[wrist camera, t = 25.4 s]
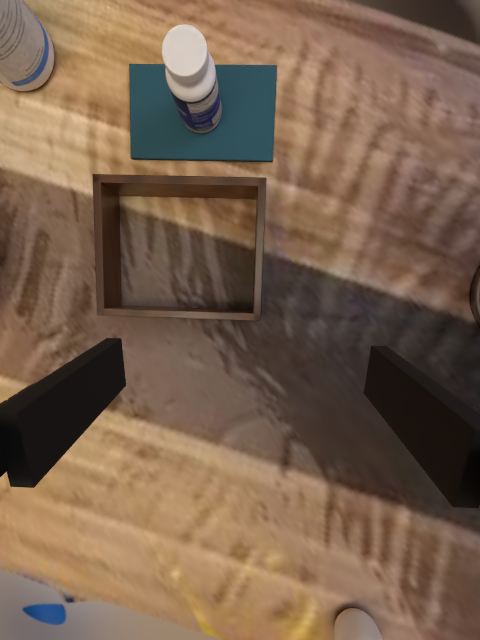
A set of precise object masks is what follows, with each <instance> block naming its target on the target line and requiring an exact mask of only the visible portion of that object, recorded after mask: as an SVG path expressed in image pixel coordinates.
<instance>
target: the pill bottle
mask: <svg viewBox="0 0 480 640" xmlns="http://www.w3.org/2000/svg"><path fill="white" fill-rule="evenodd" d="M162 57H163V61H164V64H165V66H166V69H165V72H166V80H167V83H168V86H169V89H170V91H171V93H172V96H173V98H174V101H175V103H176V106H177V108H178V111H179V113H180V116H181V118H182V120H183V122H184V124H185V125H186V126H187V127H188V128H189V129H190V130H191V131H193V132H196V133H206V132H209V131H211V130H212V129H214V128H215V127H216V125H217V124H218V123H219V121H220V118H221V113H222V106H221V100H220V94H219V88H218V81H217V75H216V69H215V65H214V62H213V59H212V57H211V55H210V54H209V52H208V48H207V44H206V41H205V38H204V36H203V35H202V33H201V32H200V31H199V30H198V29H196V28H195V27H193V26H191V25H186V24H182V25H178V26H175V27H174V28H172V29H171V30H170V31H169V32H168V33H167V35H166V36H165V38H164V41H163V44H162Z"/></svg>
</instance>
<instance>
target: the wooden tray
mask: <svg viewBox="0 0 480 640" xmlns="http://www.w3.org/2000/svg"><path fill="white" fill-rule="evenodd" d="M119 196H155V197H199V198H244V199H257V208H256V235H255V262H254V289H253V310H232V309H203V308H173V307H144V306H121V263H120V217H119ZM265 199H266V178H253V177H204V176H154V175H105V174H93V200H94V231H95V262H96V293H97V315H104V316H133V317H161V318H190V319H219V320H247V321H260V320H261V297H262V272H263V248H264V223H265Z"/></svg>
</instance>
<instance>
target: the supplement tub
mask: <svg viewBox="0 0 480 640" xmlns="http://www.w3.org/2000/svg"><path fill="white" fill-rule="evenodd" d="M53 65H54V49H53V44H52V41H51V39H50V36H49V34H48V32H47V31H46V29H45V28H44V26H43V25H42V24H41V23H40V21H39V20H38V19H37V17H36V16H35V15H34V14H33V12H32V11H31V10H30V9H29V7H28V6H27V5H26V4H25V2H24V1H23V0H0V82H1V83H2V84H3V85H5V86H7V87H8V88H11V89H13V90H17V91H30V90H33V89H36V88H38V87H40V86H41V85H43V84H44V83H45V82H46V81H47V79H48V78H49V76H50V74H51V72H52V69H53Z"/></svg>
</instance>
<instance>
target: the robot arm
mask: <svg viewBox="0 0 480 640" xmlns="http://www.w3.org/2000/svg"><path fill="white" fill-rule="evenodd" d="M470 301H471V307H472V311H473V314H474V316H475V319H476V320H477V322H478V324H479V325H480V267H479V268H478V270H477V272H476V274H475V277H474V279H473V282H472V286H471V294H470ZM125 386H126V380H125V371H124V361H123V351H122V341H121V339H120V338H106V339H105V340H103V341H102V342H100V343H99V344H97V345H95V346H94V347H92V348H91V349H89V350H88V351H86V352H84V353H83V354H81V355H80V356H78V357H76V358H75V359H73V360H72V361H70V362H69V363H67V364H65V365H64V366H62V367H61V368H59V369H58V370H56V371H54V372H53V373H51V374H50V375H48V376H47V377H45V378H43V379H42V380H40V381H39V382H37V383H35V384H32V385H30V386H28V387H26V388H25V389H23V390H21V391H20V392H18V394H15V395H13V396H12V397H10V398H9V399H8V400H5V401H4V402H2V403H1V404H0V477H1V476H2V475H3V474H4V473H5V472H6V471H7V474H8V478H9V482H10V486H11V487H30V488H34V487H35V486H36V485H37V484H38V483H39V481H40V480H41V479H42V478H43V477H44V476H45V475H46V474H47V473H48V471H49V470H50V469H51V468H52V467H53V466H54V465H55V464H56V463H57V461H58V460H59V459H60V458H61V457H62V456H63V455H64V454H65V453H66V451H67V450H68V449H69V448H70V447H71V446H72V445H73V444H74V443H75V441H76V440H77V439H78V438H79V437H80V436H81V435H82V434H83V433H84V431H85V430H86V429H87V428H88V427H89V426H90V425H91V424H92V423H93V421H94V420H95V419H96V418H97V417H98V416H99V415H100V414H101V413H102V411H103V410H104V409H105V408H106V407H107V406H108V405H109V404H110V403H111V401H112V400H113V399H114V398H115V397H116V396H117V395H118V394H119V393H120V391H121V390H122V389H123V388H124V387H125ZM364 394H365V395H366V397H367V398H368V399H369V400H370V402H371V403H372V404H373V406H374V407H375V408H376V409H377V411H378V412H379V413H380V415H381V416H382V417H383V418H384V420H385V421H386V422H387V423H388V425H389V426H390V427H391V429H392V430H393V431H394V432H395V434H396V435H397V436H398V438H399V439H400V440H401V441H402V443H403V444H404V445H405V446H406V448H407V449H408V450H409V452H410V453H411V454H412V455H413V457H414V458H415V459H416V460H417V462H418V463H419V464H420V466H421V467H422V468H423V469H424V471H425V472H426V473H427V475H428V476H429V477H430V478H431V480H432V481H433V482H434V483H435V485H436V486H437V487H438V489H439V490H440V491H441V492H442V494H443V495H444V496H445V498H446V499H447V500H448V501H449V503H450V504H451V505H452V506H453V507H466V508H479V505H480V410H478V408H477V407H476V406H474V405H473V404H471V403H470V402H469V401H467V400H465V399H463V398H461V397H459V396H457V395H455V394H453V393H450V392H449V391H448V390H446V389H445V388H444V387H442V386H441V385H439V384H438V383H437V382H435V381H434V380H432V379H431V378H430V377H428V376H427V375H426V374H424V373H423V372H421V371H420V370H419V369H417V368H416V367H414V366H413V365H412V364H410V363H409V362H407V361H406V360H405V359H403V358H402V357H401V356H399V355H398V354H396V353H395V352H394V351H392V350H391V349H389V348H388V347H387V346H371V351H370V358H369V364H368V371H367V377H366V384H365V390H364Z"/></svg>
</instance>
